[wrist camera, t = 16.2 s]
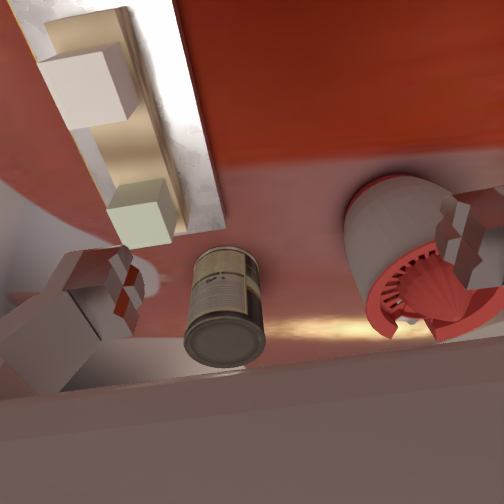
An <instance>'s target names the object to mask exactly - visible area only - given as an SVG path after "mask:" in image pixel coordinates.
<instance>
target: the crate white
mask: <svg viewBox="0 0 504 504" xmlns="http://www.w3.org/2000/svg"><path fill="white" fill-rule="evenodd" d="M37 65H38V67H39V70H40V72H41V74H42V76H43V78H44V80H45V82H46V84H47V86H48V88H49V90H50V93H51V95H52V97H53V99H54V101H55V103H56V105H57V107H58V109H59V111H60V113H61V115H62V118H63V120H64V122H65V124H66V126H67V128H68V130H74V129H80V128H86V127H92V126H97V125H103V124H109V123H115V122H121V121H126V120H128V119H129V117H130V116H131V115H132V113H133V112H134V111H135V109H136V108H137V107H138V105H139V104H140V101H139V98H138V95H137V93H136V90H135V87H134V84H133V81H132V78H131V75H130V72H129V69H128V66H127V63H126V60H125V57H124V54H123V51H122V48H121V45H120V42H114V43H109V44H103V45H98V46H93V47H87V48H82V49H77V50H71V51H66V52H62V53H59V54H57V55H55V56H53V57H50V58H48V59H46V60H43V61H41V62H39V63H37Z"/></svg>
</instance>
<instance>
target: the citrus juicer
mask: <svg viewBox="0 0 504 504" xmlns="http://www.w3.org/2000/svg"><path fill="white" fill-rule="evenodd" d="M447 195H453V194H452V193H451V192H450V191H448V190H446V189H444V188H442V187H441V186H439V185H436V184H434V183H432V182H430V181H428V180H425V179H423V178H421V177H416V176H411V175H404V174H393V175H388V176H384V177H381V178H378V179H376V180H374V181H372V182H370V183H368V184H367V185H366V186H364V187H363V188H362V189H360V191H359V192H358V193H357V194H356V195H355V196H354V197H353V199H352V200H351V202H350V204H349V206H348V208H347V211H346V215H345V219H344V224H343V231H344V247H345V253H346V257H347V260H348V263H349V266H350V270H351V272H352V275H353V277H354V280H355V282H356V285H357V287H358V290H359V292H360V294H361V297H362V299H363V302H364V304H365V307H366V315H367V319H368V321H369V323H370V324H371V326H372V327H373V328H374V329H375V330H376V331H377V332H378V333H380V334H381V335H383V336H385V337H387V338H389V339H391V338H392V337H393V335H394V333H395V332H396V330H397V328H398V326H397V324H396V322H395V320H400V321H406V322H408V323H409V324H410V325H413V324H415V323H416V322H418V321H419V320H420V319H424V321H425V323H426V324H427V326H428V328H429V329H430V331H431V333H432V334H433V336H434V338H435V339H436V341H441V340H445V339H449V338H453V337H456V336H459V335H461V334H464V333H466V332H469V331H471V330H473V329H475V328H477V327H479V326H480V325H482V324H484V323H485V322H487V321H488V320H490V319H491V318H493V317H494V316H495V315H496V314H498V313H499V312H500V311H501V310H502V309H503V308H504V288H503V287H504V286H500V287H491V288H482V289H473V290H466V289H465V288H464V286H463V285H462V284H461V282H460V281H459V280H458V278H457V277H456V276H455V274H454V273H453V268H454V265H453V264H451V263H449V262H447V261H445V260H443V258H442V257H441V256H440V254H439V252H438V250H437V247H436V242H435V232H436V226H437V224H438V223H439V222H440V221H441V220H442V219H443V218H444V216H443V215H442V213H441V212H440V207H441V202H442V200H443V199H444V197H445V196H447Z"/></svg>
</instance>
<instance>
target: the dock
mask: <svg viewBox="0 0 504 504" xmlns="http://www.w3.org/2000/svg"><path fill="white" fill-rule="evenodd" d="M7 2H8V4H9V6H10V8H11V10H12V12H13V14H14V16H15V18H16V20H17V22H18V25H19V27H20V29H21V31H22V33H23V35H24V37H25V39H26V41H27V43H28V45H29V48H30V50H31V52H32V54H33V56H34V58H35V60H36V62H37V63H39V62H41V61H43V60H46V59H48V58H50V57H53V56H55V55H57V53H56V51H55V49H54V46H53V44H52V42H51V40H50V37H49V35H48V33H47V31H46V28H45V26H44V24H43V23H44V22H48V21H53V20H57V19H61V18H66V17H71V16H76V15H82V14H87V13H92V12H97V11H102V10H107V9H113V8H118V7H123V6H127V10H128V13H129V16H130V19H131V23H132V26H133V29H134V32H135V36H136V39H137V42H138V45H139V49H140V52H141V55H142V58H143V62H144V65H145V68H146V71H147V75H148V78H149V81H150V84H151V88H152V91H153V94H154V97H155V101H156V104H157V107H158V110H159V114H160V117H161V120H162V123H163V127H164V130H165V133H166V136H167V140H168V143H169V146H170V149H171V153H172V156H173V159H174V162H175V166H176V169H177V172H178V175H179V179H180V182H181V185H182V188H183V192H184V195H185V198H186V201H187V205H188V208H189V211H190V218H189V223H188V229H187V231H186V232H180V233H174V236H178V235H185V234H192V233H198V232H205V231H211V230H218V229H224V228H226V219H227V216H226V212H225V207H224V203H223V199H222V194H221V190H220V186H219V182H218V177H217V173H216V169H215V165H214V160H213V156H212V152H211V148H210V143H209V139H208V135H207V130H206V126H205V122H204V118H203V113H202V109H201V105H200V101H199V96H198V92H197V88H196V84H195V79H194V75H193V71H192V67H191V62H190V58H189V54H188V49H187V45H186V41H185V37H184V32H183V28H182V24H181V20H180V15H179V11H178V7H177V3H176V0H7ZM69 131H70V133H71V135H72V137H73V139H74V141H75V144H76V146H77V148H78V150H79V152H80V154H81V156H82V158H83V160H84V162H85V164H86V166H87V169H88V171H89V173H90V175H91V177H92V179H93V181H94V183H95V185H96V187H97V189H98V191H99V194H100V196H101V198H102V200H103V202H104V204H105V206H106V208H107V207H108V205H109V203H110V201H111V199H112V198H113V196H114V194H115V192H116V187H115V185H114V183H113V180H112V178H111V176H110V174H109V171H108V169H107V167H106V165H105V162H104V160H103V158H102V155H101V153H100V151H99V149H98V146H97V144H96V142H95V140H94V137H93V135H92V133H91V130H90V128H89V127H86V128H80V129H74V130H69Z"/></svg>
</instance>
